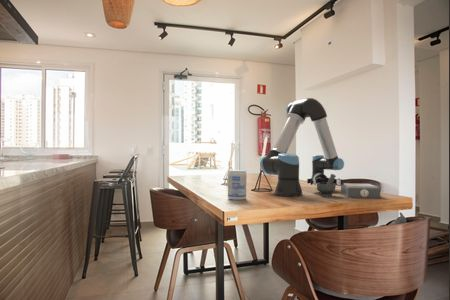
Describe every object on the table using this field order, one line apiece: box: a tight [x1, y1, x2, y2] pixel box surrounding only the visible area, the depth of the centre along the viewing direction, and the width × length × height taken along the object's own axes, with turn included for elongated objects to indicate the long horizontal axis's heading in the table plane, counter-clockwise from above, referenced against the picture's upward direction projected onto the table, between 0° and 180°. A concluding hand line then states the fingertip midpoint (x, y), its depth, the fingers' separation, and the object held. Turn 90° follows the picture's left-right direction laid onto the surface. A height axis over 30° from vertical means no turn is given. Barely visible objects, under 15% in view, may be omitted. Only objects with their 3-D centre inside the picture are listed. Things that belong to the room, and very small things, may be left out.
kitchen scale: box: [340, 182, 381, 199], centre depth 156 cm, size 16×17×6 cm
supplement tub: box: [227, 169, 247, 201], centre depth 145 cm, size 10×10×15 cm
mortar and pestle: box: [316, 173, 337, 198], centre depth 156 cm, size 11×9×12 cm
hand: (327, 182), depth 160 cm, fingers open, 13 cm apart
